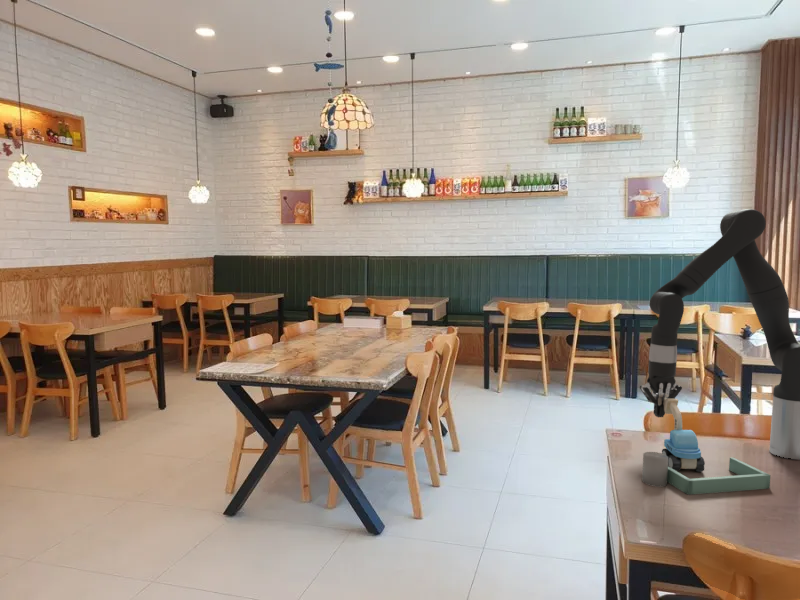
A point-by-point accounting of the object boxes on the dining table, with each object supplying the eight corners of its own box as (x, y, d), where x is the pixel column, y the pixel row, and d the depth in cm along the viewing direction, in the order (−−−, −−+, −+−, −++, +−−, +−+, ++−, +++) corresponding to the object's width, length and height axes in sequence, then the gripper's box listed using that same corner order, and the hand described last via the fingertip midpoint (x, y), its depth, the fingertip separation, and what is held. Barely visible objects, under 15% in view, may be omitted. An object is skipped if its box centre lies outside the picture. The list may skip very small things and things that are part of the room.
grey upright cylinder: (657, 476, 157) (659, 451, 157) (671, 485, 151) (673, 459, 151) (637, 478, 156) (638, 452, 155) (650, 487, 150) (652, 460, 150)
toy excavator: (683, 453, 175) (686, 397, 174) (706, 475, 159) (710, 413, 157) (653, 452, 176) (656, 396, 174) (673, 473, 159) (676, 411, 158)
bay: (732, 469, 163) (733, 457, 162) (769, 488, 150) (770, 475, 150) (656, 475, 158) (657, 462, 158) (687, 494, 146) (688, 481, 145)
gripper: (674, 356, 179) (670, 412, 181) (635, 357, 176) (631, 413, 178) (691, 361, 172) (687, 419, 173) (650, 362, 169) (646, 421, 171)
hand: (658, 416), depth 176 cm, fingers closed
